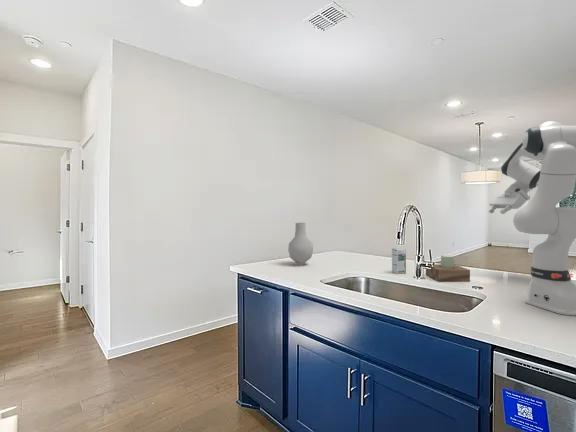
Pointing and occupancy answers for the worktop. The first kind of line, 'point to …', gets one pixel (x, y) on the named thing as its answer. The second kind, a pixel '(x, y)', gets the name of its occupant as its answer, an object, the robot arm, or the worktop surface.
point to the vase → (300, 246)
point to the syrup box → (398, 260)
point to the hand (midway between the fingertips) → (495, 212)
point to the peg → (447, 261)
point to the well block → (448, 273)
